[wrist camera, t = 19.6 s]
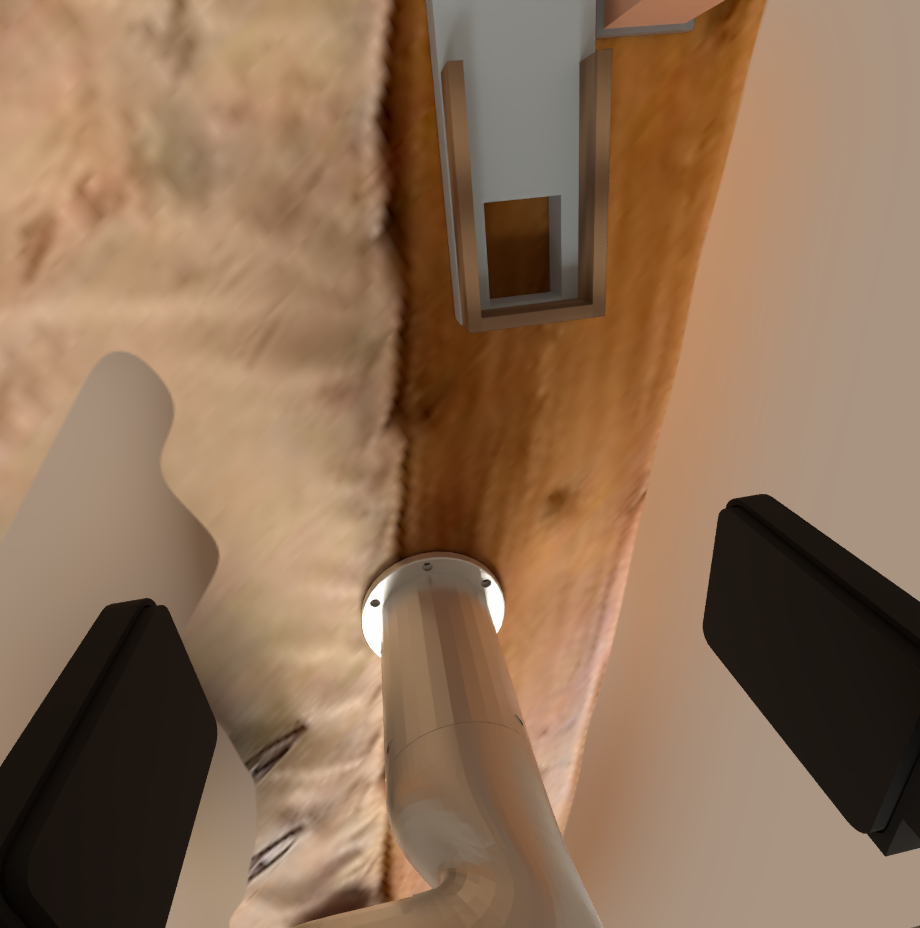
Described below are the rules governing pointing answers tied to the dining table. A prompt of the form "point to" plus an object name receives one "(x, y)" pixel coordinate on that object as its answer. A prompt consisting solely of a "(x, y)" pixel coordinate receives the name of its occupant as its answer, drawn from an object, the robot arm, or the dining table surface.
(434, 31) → the deck
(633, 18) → the block
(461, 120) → the channel walls
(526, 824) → the robot arm
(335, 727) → the dining table surface
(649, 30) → the coaster
